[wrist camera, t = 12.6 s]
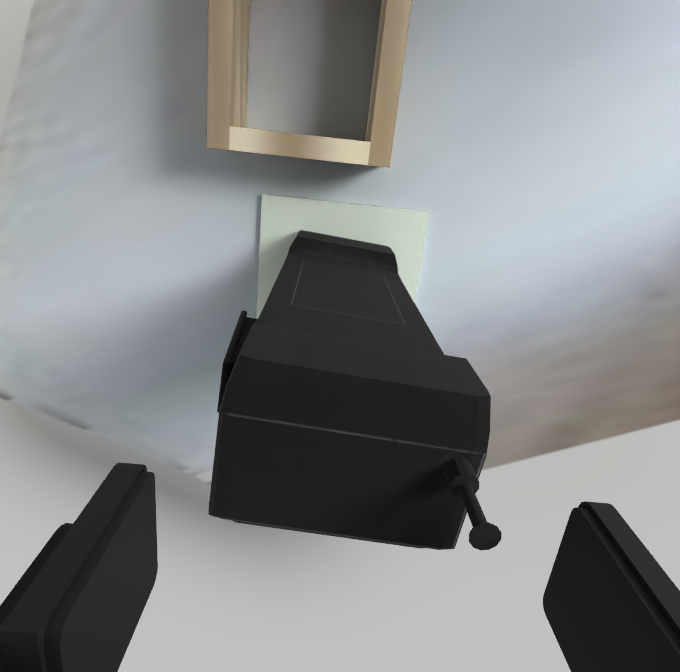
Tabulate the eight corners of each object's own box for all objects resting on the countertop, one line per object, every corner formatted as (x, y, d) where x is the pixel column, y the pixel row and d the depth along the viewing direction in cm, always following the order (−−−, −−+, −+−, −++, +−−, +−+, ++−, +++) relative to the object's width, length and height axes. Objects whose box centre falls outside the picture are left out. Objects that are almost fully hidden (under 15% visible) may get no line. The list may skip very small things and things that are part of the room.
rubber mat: (428, 211, 33) (429, 212, 33) (403, 362, 37) (404, 364, 36) (262, 194, 32) (261, 194, 32) (255, 349, 36) (254, 351, 36)
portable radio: (267, 311, 35) (130, 633, 11) (279, 225, 33) (144, 396, 9) (376, 330, 35) (466, 674, 12) (395, 247, 33) (548, 460, 10)
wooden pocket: (408, -57, 28) (424, -101, 23) (380, 166, 32) (389, 167, 27) (231, -81, 27) (210, -131, 23) (225, 149, 31) (206, 147, 27)
